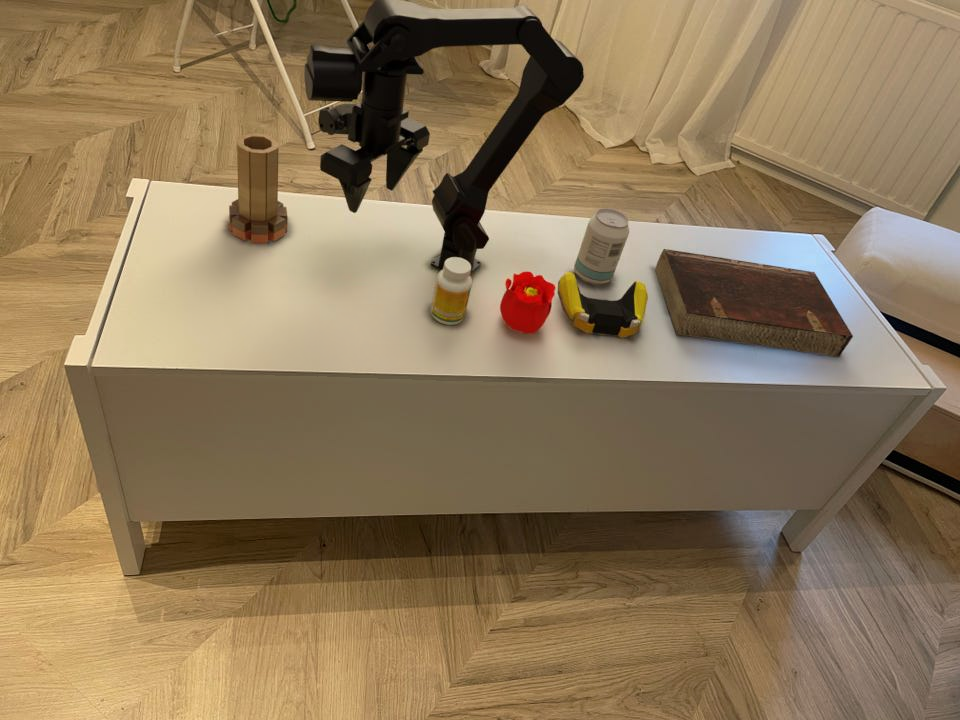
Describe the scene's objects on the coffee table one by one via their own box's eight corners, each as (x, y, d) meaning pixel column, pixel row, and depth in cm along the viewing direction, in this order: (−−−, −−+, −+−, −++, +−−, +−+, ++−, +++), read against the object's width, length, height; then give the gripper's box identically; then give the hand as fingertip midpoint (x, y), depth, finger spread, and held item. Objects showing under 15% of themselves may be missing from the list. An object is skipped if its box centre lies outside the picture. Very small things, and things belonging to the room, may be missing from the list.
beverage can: (609, 268, 138) (631, 211, 130) (612, 291, 133) (634, 233, 125) (572, 261, 138) (591, 202, 130) (572, 283, 133) (592, 224, 125)
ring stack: (256, 205, 132) (256, 189, 130) (298, 227, 129) (298, 211, 127) (217, 226, 126) (216, 209, 124) (260, 249, 123) (260, 233, 121)
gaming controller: (551, 293, 129) (558, 332, 122) (560, 267, 126) (567, 305, 118) (637, 304, 132) (649, 343, 124) (648, 278, 128) (660, 317, 121)
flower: (488, 313, 122) (498, 272, 117) (529, 306, 126) (541, 266, 120) (511, 345, 117) (523, 305, 112) (554, 337, 121) (567, 297, 116)
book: (802, 291, 145) (814, 269, 142) (838, 358, 131) (853, 336, 128) (654, 268, 141) (664, 246, 138) (675, 335, 127) (686, 312, 124)
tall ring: (276, 201, 128) (277, 134, 120) (277, 221, 124) (278, 153, 116) (238, 199, 127) (237, 131, 119) (238, 220, 122) (237, 151, 115)
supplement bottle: (427, 303, 121) (436, 253, 115) (460, 303, 123) (471, 254, 116) (433, 326, 117) (443, 275, 111) (467, 326, 119) (479, 276, 113)
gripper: (375, 63, 114) (366, 158, 125) (290, 97, 101) (287, 200, 111) (438, 91, 111) (423, 186, 122) (358, 130, 98) (349, 233, 108)
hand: (371, 200), depth 116 cm, fingers open, 9 cm apart
